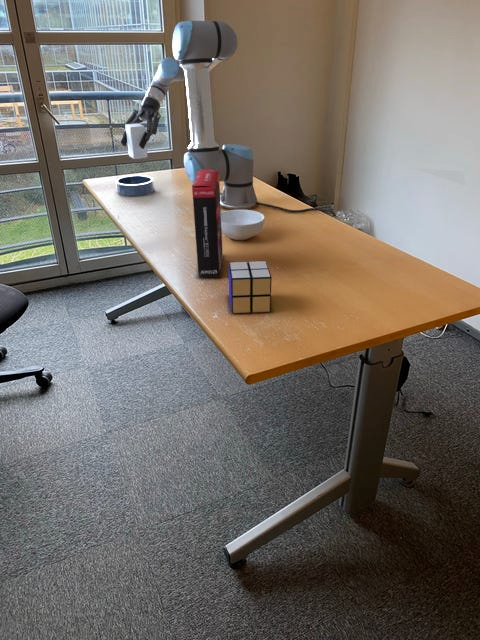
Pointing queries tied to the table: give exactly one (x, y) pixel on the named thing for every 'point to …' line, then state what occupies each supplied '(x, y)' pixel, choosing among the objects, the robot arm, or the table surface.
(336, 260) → the table surface
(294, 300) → the table surface
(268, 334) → the table surface
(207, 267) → the graphics card box
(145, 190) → the bowl
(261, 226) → the cereal bowl
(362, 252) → the table surface
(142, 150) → the small box
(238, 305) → the puzzle cube
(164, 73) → the robot arm
